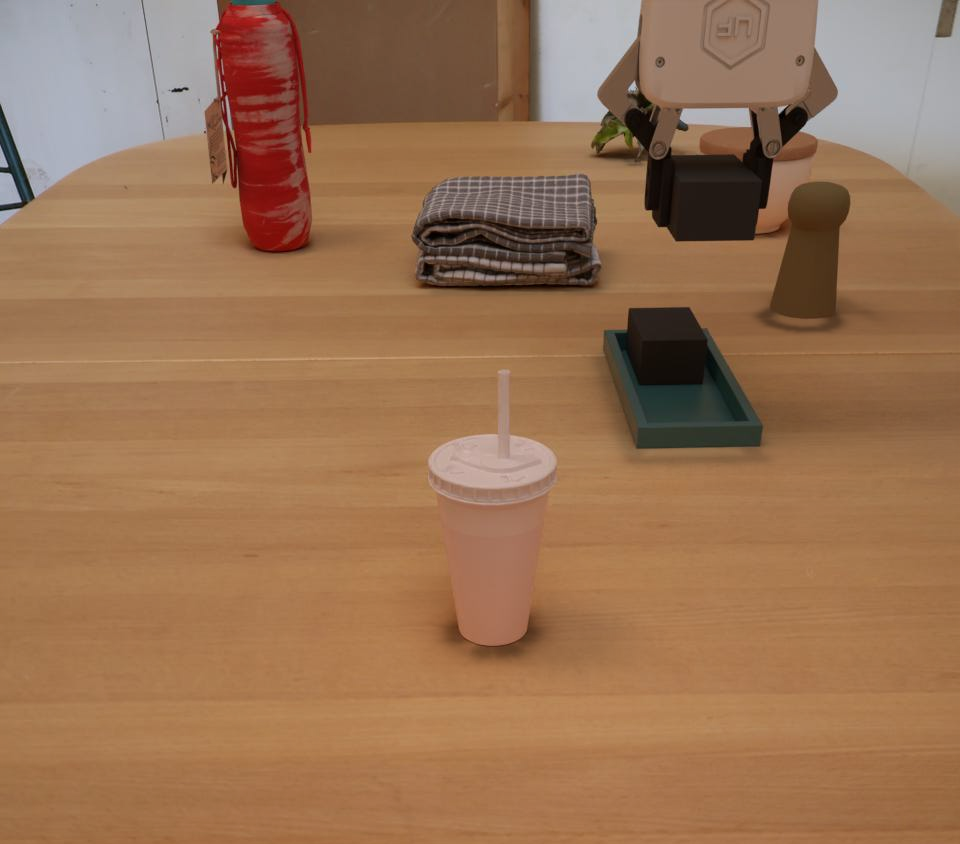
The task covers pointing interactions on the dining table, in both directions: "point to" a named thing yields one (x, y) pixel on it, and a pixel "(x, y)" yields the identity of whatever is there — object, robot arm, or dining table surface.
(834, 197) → the pepper mill
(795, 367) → the dining table surface
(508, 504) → the smoothie
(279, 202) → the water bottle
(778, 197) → the lidded bowl
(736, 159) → the black rectangular block
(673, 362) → the dark brown rectangular block
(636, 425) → the tray
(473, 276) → the towel
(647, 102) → the green leafy plant
